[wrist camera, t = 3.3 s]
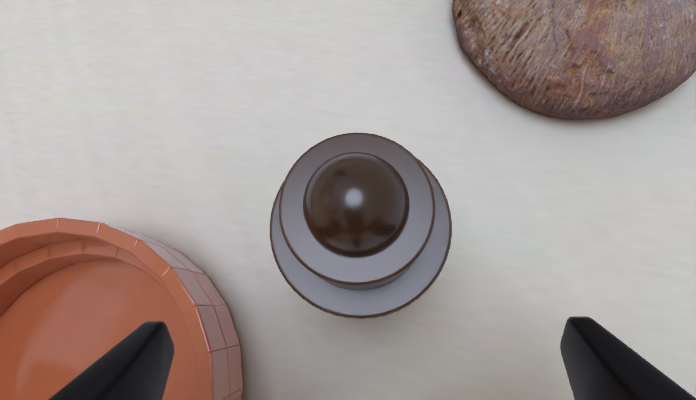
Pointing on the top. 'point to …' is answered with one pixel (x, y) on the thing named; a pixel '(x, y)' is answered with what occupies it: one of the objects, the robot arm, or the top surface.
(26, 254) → the bowl
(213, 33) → the top surface
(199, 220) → the top surface
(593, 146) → the top surface
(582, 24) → the decorative stone
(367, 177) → the pepper mill
